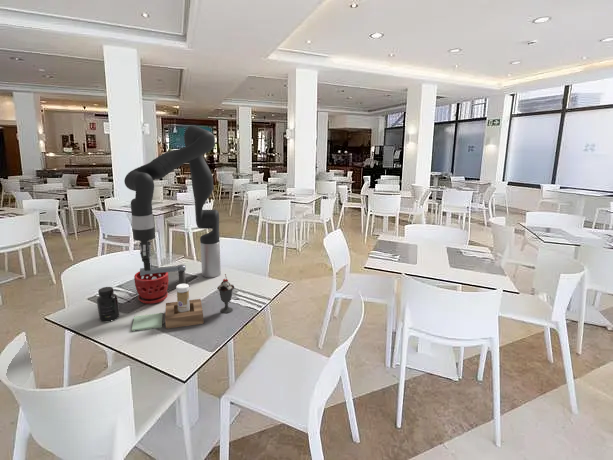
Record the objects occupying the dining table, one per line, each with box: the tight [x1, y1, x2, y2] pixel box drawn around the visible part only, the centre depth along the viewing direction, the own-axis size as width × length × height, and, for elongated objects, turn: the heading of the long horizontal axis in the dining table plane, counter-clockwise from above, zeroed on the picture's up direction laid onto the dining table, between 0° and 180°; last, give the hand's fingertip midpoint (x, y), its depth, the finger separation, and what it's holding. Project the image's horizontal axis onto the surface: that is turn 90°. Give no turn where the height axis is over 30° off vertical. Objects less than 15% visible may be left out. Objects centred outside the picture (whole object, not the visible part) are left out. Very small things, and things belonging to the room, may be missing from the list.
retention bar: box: [139, 264, 186, 277], centre depth 141 cm, size 17×3×2 cm, turn 110°
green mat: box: [131, 312, 164, 332], centre depth 134 cm, size 10×10×1 cm
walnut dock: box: [164, 270, 204, 330], centre depth 139 cm, size 19×13×16 cm
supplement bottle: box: [96, 286, 120, 322], centre depth 135 cm, size 7×7×12 cm
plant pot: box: [133, 270, 170, 305], centre depth 151 cm, size 13×13×12 cm
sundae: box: [217, 273, 235, 314], centre depth 143 cm, size 7×7×15 cm
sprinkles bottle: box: [175, 283, 190, 313], centre depth 136 cm, size 5×5×14 cm
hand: (147, 269), depth 137 cm, fingers closed
